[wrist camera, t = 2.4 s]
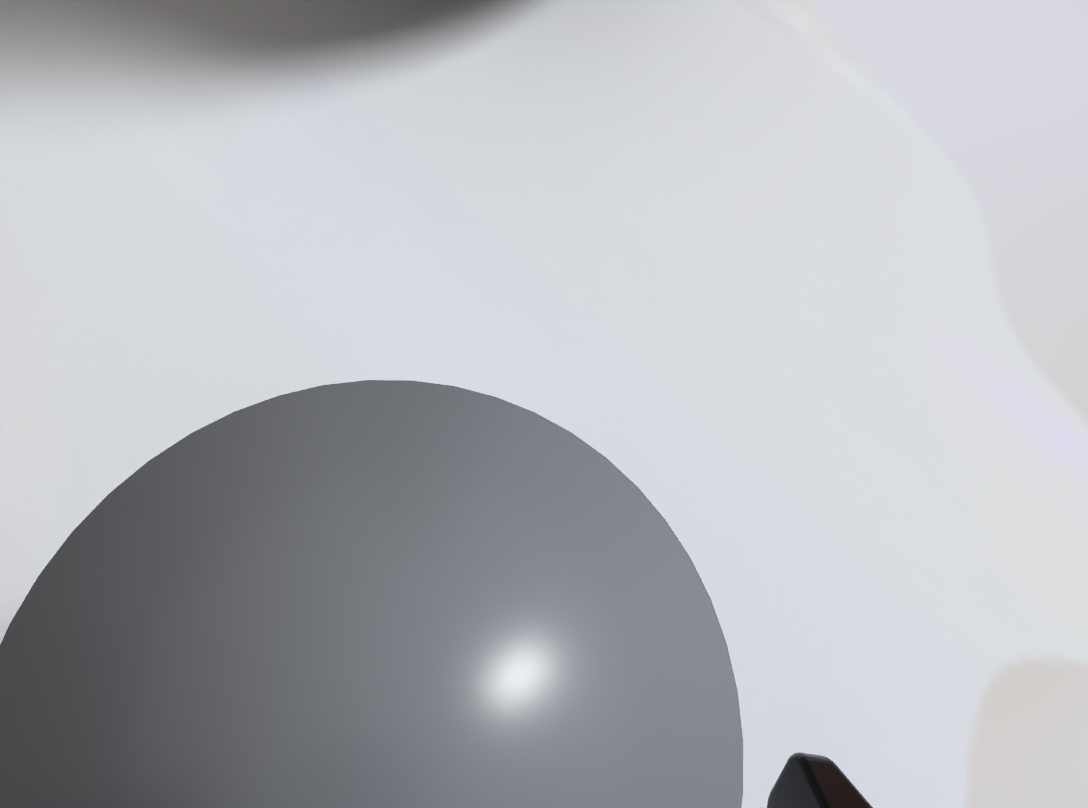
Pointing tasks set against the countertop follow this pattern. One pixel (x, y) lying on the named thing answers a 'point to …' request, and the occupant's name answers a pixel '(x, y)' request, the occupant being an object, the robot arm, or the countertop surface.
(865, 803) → the robot arm
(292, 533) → the plug charcoal
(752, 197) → the countertop surface
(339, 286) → the countertop surface
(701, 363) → the countertop surface
